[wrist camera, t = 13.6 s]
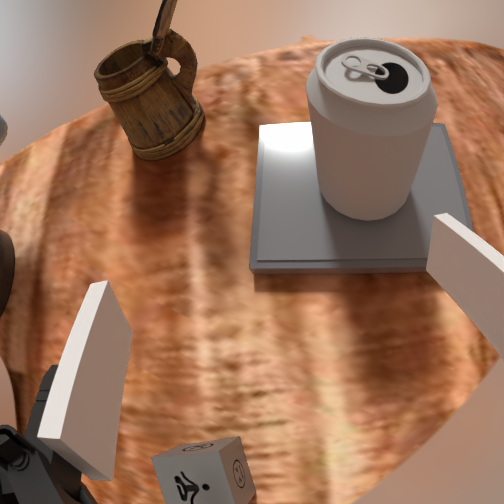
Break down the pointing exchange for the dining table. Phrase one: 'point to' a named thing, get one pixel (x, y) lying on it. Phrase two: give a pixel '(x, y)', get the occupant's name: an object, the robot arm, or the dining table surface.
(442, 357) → the dining table surface
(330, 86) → the can
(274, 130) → the slate board
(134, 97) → the wooden mug
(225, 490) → the dice cube
